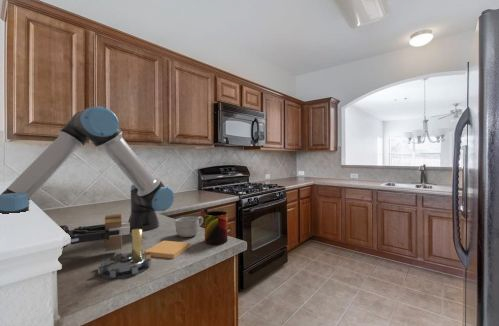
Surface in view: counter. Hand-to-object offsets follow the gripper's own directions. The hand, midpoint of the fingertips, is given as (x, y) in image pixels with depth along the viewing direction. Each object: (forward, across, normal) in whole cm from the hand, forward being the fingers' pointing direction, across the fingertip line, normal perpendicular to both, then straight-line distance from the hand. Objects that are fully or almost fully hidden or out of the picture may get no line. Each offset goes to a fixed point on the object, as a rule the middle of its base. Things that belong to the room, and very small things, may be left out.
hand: (129, 228), depth 89 cm
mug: (+33, +2, -10) cm, 35 cm away
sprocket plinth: (-1, +15, -9) cm, 18 cm away
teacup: (+25, -10, -10) cm, 29 cm away
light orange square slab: (+13, +6, -9) cm, 17 cm away
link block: (-5, 0, -7) cm, 8 cm away
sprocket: (-1, +15, -9) cm, 18 cm away
